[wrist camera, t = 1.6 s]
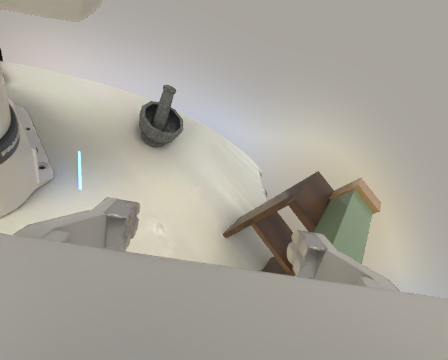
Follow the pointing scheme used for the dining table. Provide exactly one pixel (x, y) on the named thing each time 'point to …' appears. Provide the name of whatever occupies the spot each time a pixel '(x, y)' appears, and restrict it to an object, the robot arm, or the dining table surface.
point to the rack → (276, 227)
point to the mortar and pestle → (160, 120)
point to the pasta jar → (349, 218)
